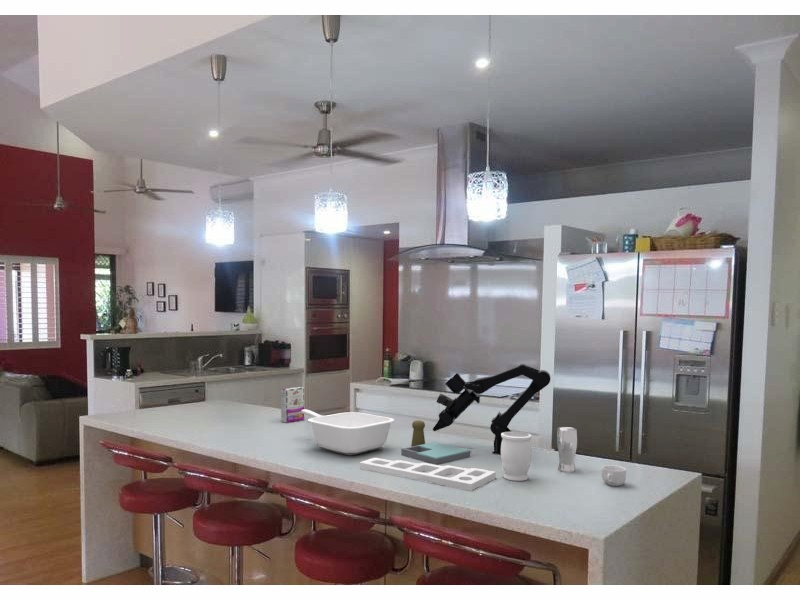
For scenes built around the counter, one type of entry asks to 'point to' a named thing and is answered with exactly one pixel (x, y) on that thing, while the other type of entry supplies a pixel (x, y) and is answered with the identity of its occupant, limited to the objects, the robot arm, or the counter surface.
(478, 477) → the holder
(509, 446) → the jar
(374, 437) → the pot
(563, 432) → the beer glass
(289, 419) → the candy bar box
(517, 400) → the robot arm
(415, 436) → the brown waisted cylinder
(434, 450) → the teal gray square board
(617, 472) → the teacup
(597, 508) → the counter surface
